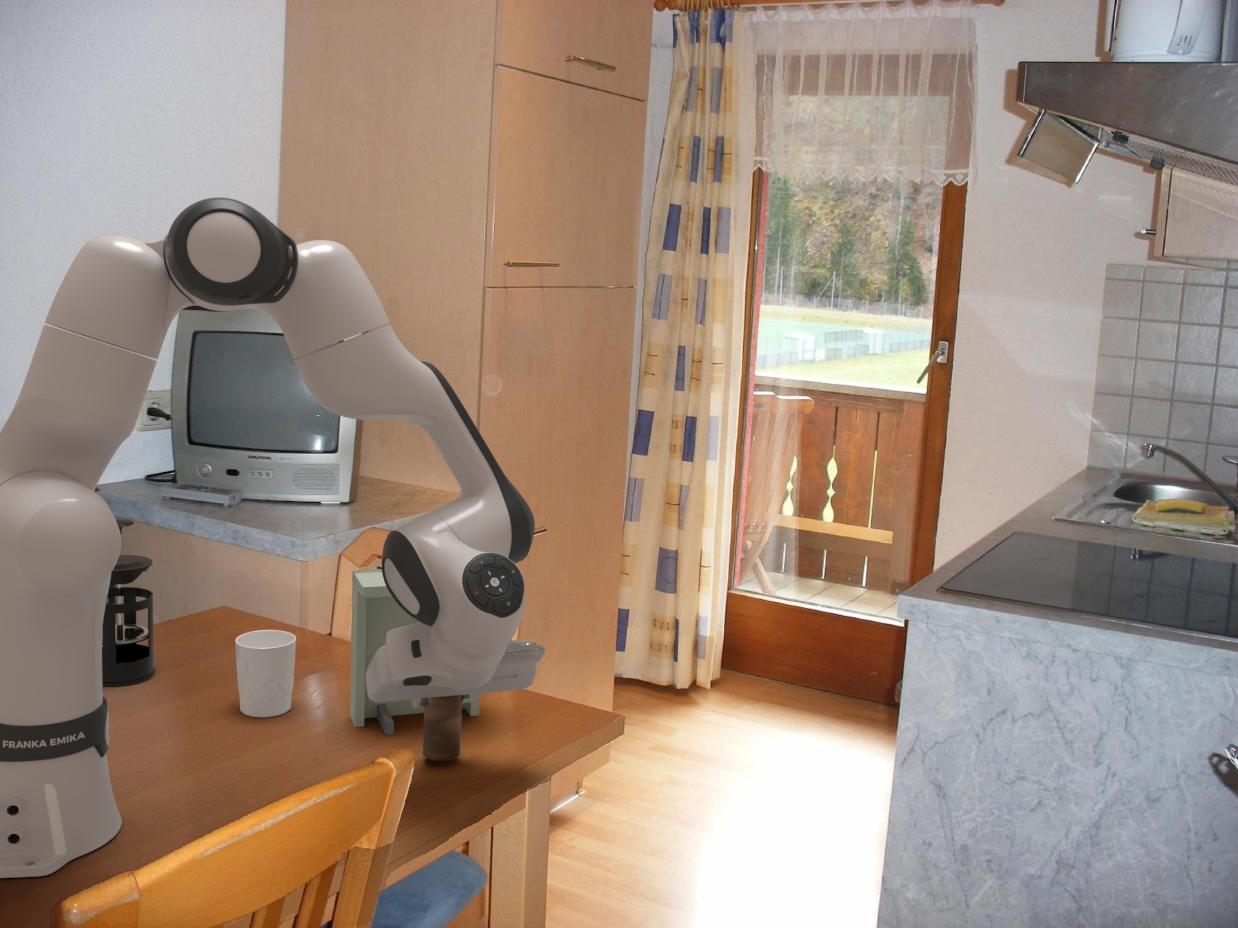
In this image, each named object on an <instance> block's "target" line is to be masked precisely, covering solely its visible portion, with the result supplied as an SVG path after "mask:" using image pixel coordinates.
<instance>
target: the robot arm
mask: <svg viewBox="0 0 1238 928" xmlns="http://www.w3.org/2000/svg"><path fill="white" fill-rule="evenodd" d="M247 307H256V308H258V309H261V310H263V311H265V312H266V313H267V314H268V315H269V316H271V318H272V319H273V320H274V321H275V322H276V324H277V325H278V327H279V329H280V330H281V332H282V334H283V336H284V338H285V340H286V344H287V346H288V348H289V351H290V353H291V356H292V358H293V359H294V363H295V365H296V367H297V370H298V372H299V374H300V377H301V379H302V381H303V384H304V385H305V387H306V389H307V390H308V392H309V393H310V395H311V397H312V398H313V400H314V401H315V402H317V404H319V405H320V407H323V408H324V409H325V410H327V411H328V412H331V413H332V414H335V415H337V416H340V417H343V418H348V419H353V420H361V421H362V420H363V421H365V420H367V421H369V420H372V421H373V420H375V421H376V420H377V421H378V420H398V421H399V420H400V421H406V422H409V423H412V424H415V425H417V426H419V427H420V428H422V429H423V431H425V432H426V434H427V435H429V437H430V438H431V440H432V442H433V443H434V445H435V446H436V448H437V449H438V451H439V453H440V455H441V457H442V458H443V460H444V462H445V463H446V465H447V466H448V468H449V470H450V471H451V472H452V473H451V474H453V476H454V477H455V480H456V481H457V482H458V484H459V486H460V492H459V493H460V494H459V496H458V497H457V498H454V499H453V500H450V501H448V502H447V503H445V504H443V505H441V506H439V507H437V508H436V509H433V510H431V511H429V512H427V513H423V514H421V515H419V516H417V517H416V518H414V519H412V520H409V521H408V522H406V523H404V524H401V525H400V526H399V527H397V528H395V529H393V530H391V531H389V533H388V535H387V536H386V538H385V540H384V543H383V546H382V554H381V570H382V574H383V578H384V582H385V584H386V587H387V589H388V590H389V592H390V594H391V595H392V597H393V598H394V600H395V601H396V602H397V603H398V605H399V606H400V607H401V608H402V609H403V610H404V611H405V612H406V613H407V614H409V615H410V616H411V617H413V618H415V619H416V620H418V621H419V623H416V624H412V625H408V626H404V627H400V628H395V629H392V630H390V631H388V633H387V635H386V645H384V646H383V647H381V648H380V649H379V650H378V651H377V652H376V653H375V655H374V657H373V658H372V660H371V662H370V664H369V667H368V669H367V673H366V684H367V692H368V697H369V699H370V700H371V701H373V702H387V701H399V700H411V701H412V703H413V708H416V707H425V706H426V704H427V698H433V697H444V696H455V695H462V703H472V702H473V700H474V698H476V697H478V696H480V697H481V696H483V694H486V693H487V694H489V693H499V692H510V691H521V690H525V689H527V688H529V687H531V686H532V685H533V684H534V681H535V678H536V676H537V675H536V674H537V672H538V671H537V670H538V665H537V662H539V661H541V660H542V659H543V657H544V656H545V654H546V647H545V646H544V645H542V644H537V642H534V641H529V640H527V639H516V640H515V639H513V638H514V637H515V635H516V633H517V630H518V628H519V626H520V624H521V621H522V618H523V615H524V613H525V607H526V603H527V602H526V601H527V588H526V587H527V586H526V583H525V582H526V581H525V577H524V575H523V573H522V570H521V569H520V568H519V566H518V565H517V563H520V562H522V561H523V560H525V559H526V558H527V557H528V554H530V553H529V552H530V549H531V547H532V545H533V540H534V536H535V529H536V522H535V521H536V520H535V517H534V513H533V511H532V510H531V507H530V506H529V503H527V500H525V498H524V497H523V495H522V494H521V492H520V491H518V489H517V488H516V487H515V485H514V484H513V483H512V482H511V481H510V480H509V478H508V477H507V475H506V474H505V473H504V471H503V469H502V468H501V466H500V464H499V463H498V461H497V460H496V458H495V456H494V454H493V453H492V451H491V450H490V448H489V446H488V444H487V443H486V441H485V440H484V438H483V436H482V434H481V433H480V431H479V428H477V426H476V424H475V423H474V421H473V420H472V418H471V416H470V414H469V413H468V411H467V410H466V407H465V406H464V404H463V403H462V402H461V399H460V397H459V396H458V395H457V393H456V392H455V390H454V389H453V387H452V386H451V384H450V383H449V381H448V380H447V379H446V377H445V376H444V374H443V373H442V372H441V371H440V370H439V369H438V368H437V367H436V366H435V365H434V364H432V363H431V362H428V361H425V360H419V359H417V358H416V357H415V356H414V355H413V354H412V353H410V351H409V350H408V349H407V348H406V347H405V345H403V343H402V342H401V341H400V339H399V337H398V336H397V334H396V332H395V331H394V329H393V327H392V324H391V323H390V319H389V317H388V316H387V313H386V311H385V308H384V306H383V304H382V302H381V300H380V298H379V296H378V293H377V292H376V290H375V288H374V286H373V285H372V282H371V281H370V279H369V277H368V276H367V274H366V273H365V270H364V269H363V268H362V266H361V265H360V263H359V262H358V259H356V257H355V255H354V254H353V253H352V252H351V250H350V249H349V248H348V247H346V246H345V245H344V244H342V243H341V242H338V241H334V240H327V239H314V240H308V241H304V242H301V243H298V244H296V242H295V240H294V239H293V238H292V237H291V236H289V235H288V234H287V233H285V232H284V231H283V230H282V229H281V228H279V226H277V225H275V224H274V223H273V222H272V221H270V219H269V218H267V217H266V216H265V215H264V214H262V213H261V212H260V211H258V210H257V209H256V208H254V207H253V206H251V205H248V204H247V203H245V202H242V201H241V200H237V199H234V198H229V197H209V198H205V199H201V200H198V201H196V202H194V203H192V204H190V205H188V206H186V208H184V209H183V210H182V211H181V212H180V213H179V214H178V215H177V216H176V218H175V219H174V220H173V222H172V224H171V225H170V228H169V230H168V233H167V234H166V235H165V236H164V237H162V238H160V239H158V240H156V241H146V240H145V241H143V240H141V239H138V238H135V237H131V236H128V235H123V234H122V235H121V234H105V235H100V236H96V237H94V238H92V239H90V240H88V241H86V242H85V243H84V244H83V246H82V247H81V248H80V250H79V252H78V253H77V255H76V256H75V258H74V259H73V261H72V263H71V264H70V266H69V268H68V270H67V271H66V274H65V275H64V277H63V279H62V281H61V282H60V284H59V288H58V289H57V291H56V293H55V296H54V298H53V301H52V303H51V305H50V308H49V310H48V313H47V315H46V318H45V321H44V323H45V324H43V327H42V330H41V332H40V335H39V338H38V341H37V344H36V346H35V349H34V353H33V355H32V358H31V362H30V365H29V367H28V370H27V373H26V376H25V378H24V380H23V381H24V382H23V384H22V388H21V390H20V392H19V395H18V397H17V400H16V402H15V404H14V406H13V408H12V410H11V412H10V414H9V415H8V418H7V420H6V422H5V424H4V425H3V427H2V429H1V430H0V879H6V878H7V879H8V878H9V879H10V878H29V877H35V878H36V877H44V876H48V875H51V874H53V873H54V872H56V871H57V870H60V869H61V868H62V867H63V866H65V865H66V864H67V863H69V862H71V861H72V860H74V859H76V858H79V857H81V856H84V855H86V854H88V853H91V852H92V851H94V850H97V849H99V848H101V847H102V846H104V845H105V844H107V843H108V842H109V841H110V840H112V839H113V838H114V837H115V836H117V834H118V833H119V831H120V830H121V827H122V824H123V820H122V816H121V814H120V811H119V809H118V806H117V803H116V799H115V796H114V791H113V788H112V783H111V779H110V773H109V765H108V757H107V752H108V751H109V750H108V749H109V745H110V715H109V712H110V711H109V709H108V702H107V701H108V700H107V698H106V697H105V696H104V695H103V694H104V693H103V692H104V691H103V690H104V689H103V687H104V686H102V647H103V645H102V627H103V618H104V612H105V606H106V604H107V601H108V597H107V596H108V591H109V588H110V586H111V585H110V579H111V572H112V570H113V569H114V567H115V565H116V563H117V561H118V558H119V555H121V551H122V534H120V530H119V527H118V524H117V522H116V519H117V518H116V517H115V515H114V514H113V511H112V510H111V508H110V506H109V504H108V503H107V502H106V501H105V500H104V498H103V497H102V496H100V495H99V493H97V492H95V491H96V489H97V488H96V487H97V486H98V484H99V481H100V479H101V477H102V476H103V474H104V472H105V470H106V469H107V467H108V465H109V464H110V462H111V461H112V459H113V457H114V456H115V454H116V452H117V451H118V449H119V448H120V446H121V445H122V444H123V443H124V441H126V440H127V439H128V438H129V437H130V436H131V434H132V432H134V429H135V427H136V424H137V421H138V418H139V416H140V414H141V413H140V412H141V409H142V407H143V403H144V401H145V398H146V394H147V393H148V392H147V391H148V390H149V389H148V388H149V386H150V383H151V379H152V377H153V374H154V371H155V368H156V365H157V363H158V361H157V360H159V359H158V358H159V356H160V353H161V349H162V347H163V343H164V341H165V338H166V336H167V333H168V330H169V328H170V326H171V324H172V322H173V320H174V319H175V317H176V316H177V315H178V314H179V313H180V312H181V311H201V312H213V313H220V312H221V313H222V312H223V313H224V312H232V311H233V312H234V311H238V310H240V309H241V310H242V309H244V308H247Z"/></svg>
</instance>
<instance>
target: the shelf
mask: <svg viewBox="0 0 1238 928" xmlns="http://www.w3.org/2000/svg"><path fill="white" fill-rule="evenodd" d="M351 583H352V584H351V586H352V587H351V632H350V633H351V643H350V644H351V645H350V650H351V651H350V652H351V653H350V690H349V691H350V695H349V696H350V698H349V699H350V700H349V701H350V702H349V703H350V704H349V706H350V708H349V717H350V719H351V722H352V724H353V727H354V728H362V727H363V728H364V727H365V719H370V718H376V719H377V720H378V723H379V724H380V726H381V728H382V731H383V732H384V735H385V736H394V731H395V722H394V720H393V718H392V717H394V716H403V715H404V716H405V715H413V714H416V715H417V714H424V707H416V708H413V703H412V701H411V700H399V701H387V702H373V701H371V700H370V699H369V697H368V692H367V684H366V673H367V669H368V667H369V664H370V662H371V660H372V658H373V657H374V655H375V653H376V652H377V651H378V650H379V649H380V648H381V647H383V646H384V645H386V635H387V633H388V631H390V630H392V629H395V628H400V627H404V626H408V625H412V624H416V623H419V621H418V620H416V619H415V618H413V617H411V616H410V615H409V614H407V613H406V612H405V611H404V610H403V609H402V608H401V607H400V606H399V605H398V603H397V602H396V601H395V600H394V598H393V597H392V595H391V594H390V592H389V590H388V589H387V587H386V584H385V582H384V578H383V574H382V569H367V570H365V569H364V570H352V582H351ZM480 698H481V695H480V696H478V697H476V698H474V700H473V702H472V703H462V708H461V710H466V712H467V714H469V716H470V717H476V716H477V717H478V716H480V701H481V699H480ZM462 728H463V714H462V713H461V729H462Z"/></svg>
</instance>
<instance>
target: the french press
mask: <svg viewBox="0 0 1238 928" xmlns="http://www.w3.org/2000/svg"><path fill="white" fill-rule="evenodd" d="M115 519H116V522H117V524H118V527H119V530H120V534H121V535H122V533H123V527H131V526H133V525H134V524H135V522H134V521H133V520H131V519H126V518H115ZM152 565H153V560H152V559H151V558H149V557H147V556H143V555H135V554H120V555H119V558H118V561H117V563H116V565H115V567H114V569H113V570H112V572H111V579H110V585H109V586H111V585H112V586H113V585H114V586H115V585H116V586H117V587H109V591H108V596H107V598H112V597H114V598H115V597H117V603H115V604H113V603H106V606H105V612H104V618H103V627H102V687H108V688H109V687H110V688H113V687H116V688H117V687H127V686H134V685H136V684H141V683H144V682H147V681H149V680H150V679H152V678H153V677H155V675H156V668H155V665H154V664H155V661H154V659H155V658H154V657H155V656H154V655H155V654H154V650H155V649H154V593H153V591H151V590H149V589H147V588H142V587H136V586H135V587H133V586H121V585H128V584H130V583H133V582H134V581H136V580H137V579H139V577H140V576H141V574H143V572H147V571H148V570H149V568H150V567H151V566H152ZM122 597H123V603H122V599H121V598H122ZM137 597H138V598H144V599H142V600H138V601H137ZM146 609H147V626H145V625H142V624H137V612H139V611H143V610H146ZM116 614H117V615H118V616H117V617H118V619H117V620H118V623H117V624H116ZM122 614H123V623H122ZM146 640H147V642H148V644H147V645H146V644H145V645H144V644H140V643H141V642H144V641H146Z"/></svg>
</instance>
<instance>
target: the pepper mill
mask: <svg viewBox="0 0 1238 928" xmlns="http://www.w3.org/2000/svg"><path fill="white" fill-rule="evenodd" d="M461 708H462V695H455V696H444V697H433V698H427V704H426V706H425V707H424V713H423V731H422V732H423V734H422V738H423V739H422V755H423V757H424V758H426V759H428V760H431V761H436V762H445V761H447V762H448V761H451V760H455V759H457V758H458V757H459V756H460V754H461V738H462V737H461V735H462V734H461V733H462V728H461V714H462V709H461Z"/></svg>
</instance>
